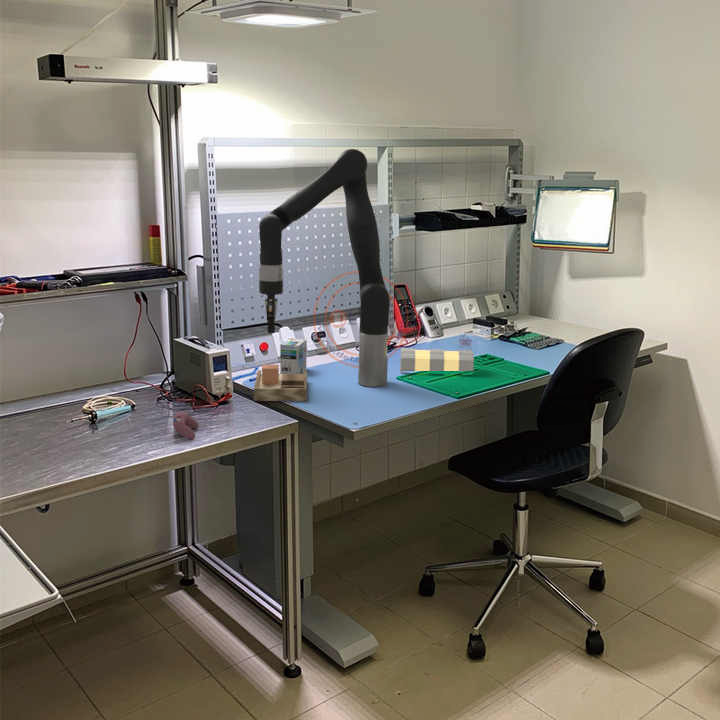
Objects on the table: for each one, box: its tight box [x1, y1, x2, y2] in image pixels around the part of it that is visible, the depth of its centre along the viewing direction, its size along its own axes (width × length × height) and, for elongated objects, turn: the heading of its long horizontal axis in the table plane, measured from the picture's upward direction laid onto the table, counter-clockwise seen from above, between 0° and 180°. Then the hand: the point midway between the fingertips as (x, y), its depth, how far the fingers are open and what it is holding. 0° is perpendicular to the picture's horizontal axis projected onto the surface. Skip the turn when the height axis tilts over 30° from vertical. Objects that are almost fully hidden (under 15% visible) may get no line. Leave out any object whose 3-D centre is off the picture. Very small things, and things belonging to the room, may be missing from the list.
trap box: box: [253, 369, 308, 402], centre depth 255 cm, size 16×22×4 cm
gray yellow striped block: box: [399, 333, 475, 372], centre depth 282 cm, size 25×10×13 cm, turn 87°
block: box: [261, 364, 280, 384], centre depth 255 cm, size 5×5×5 cm
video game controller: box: [172, 410, 200, 440], centre depth 213 cm, size 10×5×7 cm, turn 5°
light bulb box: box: [279, 338, 308, 374], centre depth 277 cm, size 11×7×11 cm, turn 168°
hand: (271, 331), depth 260 cm, fingers closed
